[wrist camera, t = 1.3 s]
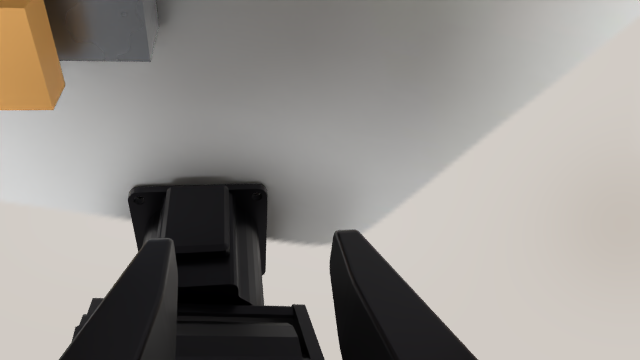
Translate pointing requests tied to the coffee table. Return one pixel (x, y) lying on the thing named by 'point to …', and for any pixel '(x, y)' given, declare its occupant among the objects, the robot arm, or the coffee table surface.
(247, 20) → the coffee table surface
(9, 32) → the cardboard box
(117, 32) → the socket block
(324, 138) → the coffee table surface
